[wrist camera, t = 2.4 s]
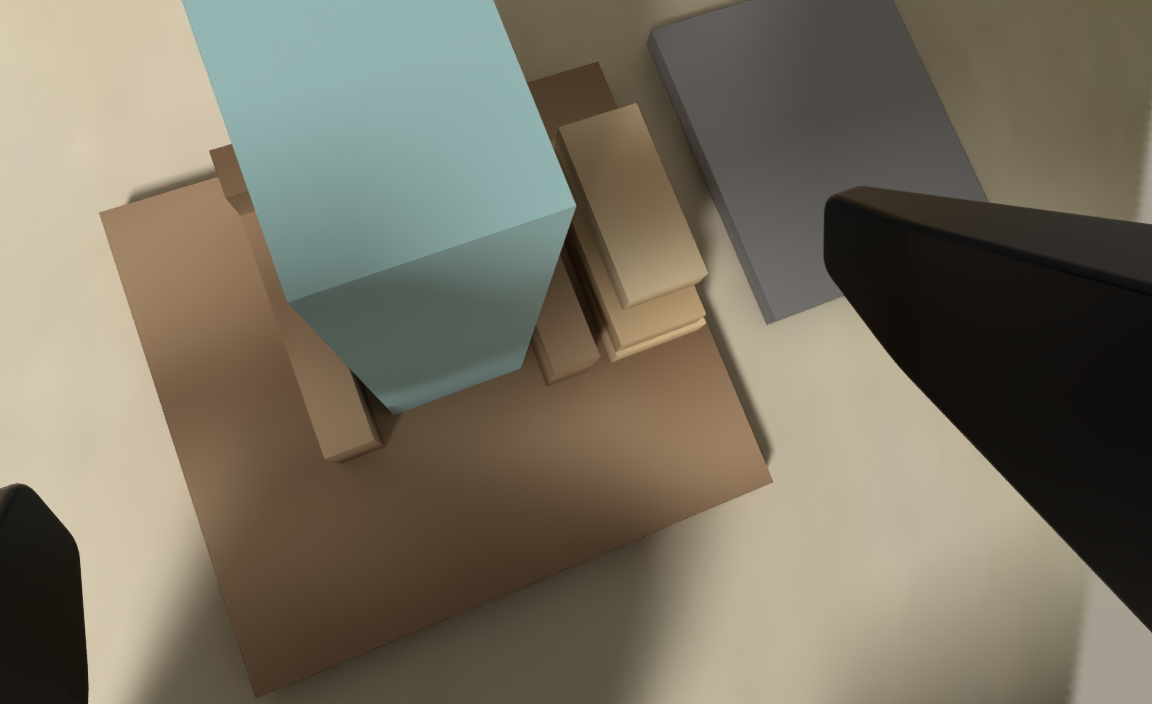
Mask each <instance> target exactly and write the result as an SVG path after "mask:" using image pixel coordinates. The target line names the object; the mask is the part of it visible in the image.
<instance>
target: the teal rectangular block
mask: <svg viewBox="0 0 1152 704" xmlns="http://www.w3.org/2000/svg"><path fill="white" fill-rule="evenodd" d="M182 2H183V5H184V8H185V11H186V14H187V17H188V20H189V23H190V25H191V28H192V31H193V34H194V37H195V40H196V43H197V45H198V48H199V51H200V54H201V57H202V60H203V63H204V65H205V68H206V71H207V74H208V77H209V80H210V83H211V86H212V88H213V91H214V94H215V97H216V100H217V103H218V106H219V108H220V111H221V114H222V117H223V120H224V123H225V126H226V128H227V131H228V134H229V137H230V140H231V143H232V146H233V148H234V151H235V154H236V157H237V160H238V163H239V166H240V169H241V171H242V174H243V177H244V180H245V183H246V186H247V189H248V191H249V194H250V197H251V200H252V203H253V206H254V209H255V211H256V214H257V217H258V220H259V223H260V226H261V229H262V232H263V234H264V237H265V240H266V243H267V246H268V249H269V252H270V254H271V257H272V260H273V263H274V266H275V269H276V272H277V274H278V277H279V280H280V283H281V286H282V289H283V292H284V294H285V297H286V300H287V303H288V304H289V305H290V306H291V307H292V308H293V309H294V310H295V311H296V312H297V313H298V314H299V315H300V316H301V317H302V319H303V320H304V321H305V322H306V323H307V324H308V325H309V326H310V327H311V328H312V329H313V330H314V331H315V332H316V333H317V334H318V335H319V336H320V338H321V339H322V340H323V341H324V342H325V343H326V344H327V345H328V346H329V347H330V348H331V349H332V350H333V351H334V352H335V353H336V354H337V356H338V357H339V358H340V359H341V360H342V361H343V362H344V363H345V364H346V365H347V366H348V367H349V368H350V369H351V370H352V371H353V372H354V373H355V375H356V376H357V377H358V378H359V379H360V380H361V381H362V382H363V383H364V384H365V385H366V386H367V387H368V388H369V389H370V390H371V391H372V393H373V394H374V395H375V396H376V397H377V398H378V399H379V400H380V401H381V402H382V403H383V404H384V405H385V406H386V407H387V408H388V409H389V410H390V412H391V413H392V414H393V415H395V414H398V413H401V412H403V411H406V410H409V409H412V408H414V407H417V406H420V405H422V404H425V403H428V402H431V401H433V400H436V399H439V398H442V397H444V396H447V395H450V394H452V393H455V392H458V391H461V390H463V389H466V388H469V387H471V386H474V385H477V384H480V383H482V382H485V381H488V380H491V379H493V378H496V377H499V376H501V375H504V374H507V373H510V372H512V371H515V370H518V369H520V368H521V367H522V364H523V361H524V358H525V355H526V352H527V349H528V346H529V343H530V340H531V337H532V334H533V331H534V328H535V325H536V323H537V320H538V317H539V314H540V311H541V308H542V305H543V302H544V299H545V296H546V293H547V290H548V287H549V284H550V281H551V278H552V276H553V273H554V270H555V267H556V264H557V261H558V258H559V255H560V252H561V249H562V246H563V243H564V240H565V237H566V234H567V231H568V229H569V226H570V223H571V220H572V217H573V214H574V211H575V208H576V204H575V201H574V199H573V196H572V194H571V191H570V189H569V186H568V184H567V182H566V179H565V177H564V174H563V172H562V169H561V167H560V164H559V162H558V159H557V157H556V154H555V152H554V149H553V147H552V144H551V142H550V139H549V137H548V134H547V132H546V129H545V127H544V124H543V122H542V120H541V117H540V115H539V112H538V110H537V107H536V105H535V102H534V100H533V97H532V95H531V92H530V90H529V87H528V85H527V82H526V80H525V77H524V75H523V72H522V70H521V67H520V65H519V63H518V60H517V58H516V55H515V53H514V50H513V48H512V45H511V43H510V40H509V38H508V35H507V33H506V30H505V28H504V25H503V23H502V20H501V18H500V15H499V13H498V10H497V8H496V5H495V3H494V1H493V0H182Z"/></svg>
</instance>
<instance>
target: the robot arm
mask: <svg viewBox="0 0 1152 704" xmlns="http://www.w3.org/2000/svg"><path fill="white" fill-rule="evenodd" d="M823 258H824V264H825V267H826V270H827V272H828V274H829V276H830V277H831V279H832V280H833V282H834V283H835V284H836V285H837V287H838V288H839V289H840V291H841V292H842V293H843V295H844V296H845V297H846V299H847V300H848V301H849V303H850V304H851V305H852V307H853V308H854V309H855V311H856V312H857V313H858V315H859V316H860V317H861V319H862V320H863V321H864V323H865V324H866V325H867V326H868V328H869V329H870V330H871V332H872V333H873V334H874V336H875V337H876V338H877V340H878V341H879V342H880V344H881V345H882V346H883V348H884V349H885V350H886V352H887V353H888V354H889V355H890V356H891V358H892V359H893V360H894V361H895V363H896V364H897V365H898V366H899V367H900V368H901V369H902V371H903V372H904V373H905V374H906V375H907V376H908V377H909V378H910V379H911V381H912V382H913V383H914V384H915V385H916V386H917V387H918V388H919V389H920V390H921V391H922V392H923V393H924V394H925V395H926V396H927V397H928V398H929V399H930V400H931V402H932V403H933V404H934V405H935V406H936V407H937V408H938V409H939V410H940V411H941V412H942V413H943V414H944V415H945V416H946V417H947V418H948V419H949V420H950V421H951V423H952V424H953V425H954V426H955V427H956V428H957V429H958V430H959V431H960V432H961V433H962V434H963V435H964V436H965V437H966V438H967V439H968V440H969V441H970V442H971V444H972V445H973V446H974V447H975V448H976V449H977V450H978V451H979V452H980V453H981V454H982V455H983V456H984V457H985V458H986V459H987V460H988V461H989V462H990V463H991V464H992V466H993V467H994V468H995V469H996V470H997V471H998V472H999V473H1000V474H1001V475H1002V476H1003V477H1004V478H1005V479H1006V480H1007V481H1008V482H1009V483H1010V484H1011V485H1012V487H1013V488H1014V489H1015V490H1016V491H1017V492H1018V493H1019V494H1020V495H1021V496H1022V497H1023V498H1024V499H1025V500H1026V501H1027V502H1028V503H1029V504H1030V505H1031V506H1032V508H1033V509H1034V510H1035V511H1036V512H1037V513H1038V514H1039V515H1040V516H1041V517H1042V518H1043V519H1044V520H1045V521H1046V522H1047V523H1048V524H1049V525H1050V526H1051V527H1052V529H1053V530H1054V531H1055V532H1056V533H1057V534H1058V535H1059V536H1060V537H1061V538H1062V539H1063V540H1064V541H1065V542H1066V543H1067V544H1068V545H1069V546H1070V547H1071V548H1072V550H1073V551H1074V552H1075V553H1076V554H1077V555H1078V556H1079V557H1080V558H1081V559H1082V560H1083V561H1084V562H1085V563H1086V564H1087V565H1088V566H1089V567H1090V568H1091V569H1092V571H1093V572H1094V573H1095V574H1096V575H1097V576H1098V577H1099V578H1100V579H1101V580H1102V581H1103V582H1104V583H1105V584H1106V585H1107V586H1108V587H1109V588H1110V589H1111V590H1112V591H1113V593H1114V594H1115V595H1116V596H1117V597H1118V598H1119V599H1120V600H1121V601H1122V602H1123V603H1124V604H1125V605H1126V606H1127V607H1128V608H1129V609H1130V610H1131V611H1132V612H1133V614H1134V615H1135V616H1136V617H1137V618H1138V619H1139V620H1140V621H1141V622H1142V623H1143V624H1144V625H1145V626H1146V627H1147V628H1148V629H1149V630H1150V631H1151V632H1152V224H1145V223H1137V222H1130V221H1122V220H1115V219H1107V218H1100V217H1093V216H1085V215H1078V214H1070V213H1063V212H1055V211H1048V210H1040V209H1033V208H1025V207H1018V206H1011V205H1003V204H996V203H988V202H981V201H973V200H966V199H958V198H951V197H943V196H936V195H929V194H921V193H914V192H906V191H899V190H891V189H884V188H876V187H869V186H856V187H853V188H850V189H847V190H845V191H842V192H839V193H836V194H834V195H831V196H830V197H829V198H828V199H827V201H826V203H825V206H824V235H823ZM88 691H89V687H88V663H87V649H86V635H85V622H84V608H83V594H82V580H81V567H80V556H79V551H78V547H77V544H76V542H75V540H74V538H73V536H72V535H71V533H70V532H69V531H68V530H67V528H66V527H65V526H64V525H63V524H62V523H61V521H60V520H59V519H58V518H57V517H56V516H55V514H54V513H53V512H52V511H51V510H50V508H49V507H48V506H47V505H46V504H45V503H44V501H43V500H42V499H41V498H40V497H39V496H38V494H37V493H36V492H35V491H34V490H33V489H32V488H30V487H29V486H27V485H25V484H19V483H16V484H12V485H9V486H6V487H3V488H0V704H88Z"/></svg>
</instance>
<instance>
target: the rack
mask: <svg viewBox="0 0 1152 704" xmlns="http://www.w3.org/2000/svg"><path fill="white" fill-rule="evenodd" d="M527 85H528V87H529V90H530V92H531V95H532V97H533V100H534V102H535V105H536V107H537V110H538V112H539V115H540V117H541V120H542V122H543V124H544V127H545V129H546V132H547V134H548V137H549V139H550V142H551V144H552V147H553V149H554V152H555V154H556V157H557V159H558V162H559V164H560V167H561V169H562V172H563V174H564V177H565V179H566V182H567V184H568V186H569V189H570V191H571V194H572V196H573V199H574V201H575V204H576V208H575V211H574V214H573V217H572V220H571V223H570V226H569V229H568V231H567V234H566V237H565V240H564V243H563V246H562V249H561V252H560V255H559V258H558V261H557V264H556V267H555V270H554V273H553V276H552V278H551V281H550V284H549V287H548V290H547V293H546V296H545V299H544V302H543V305H542V308H541V311H540V314H539V317H538V320H537V323H536V325H535V328H534V331H533V334H532V337H531V340H530V343H529V346H528V349H527V352H526V355H525V358H524V361H523V364H522V367H521V368H520V369H518V370H515V371H512V372H510V373H507V374H504V375H501V376H499V377H496V378H493V379H491V380H488V381H485V382H482V383H480V384H477V385H474V386H471V387H469V388H466V389H463V390H461V391H458V392H455V393H452V394H450V395H447V396H444V397H442V398H439V399H436V400H433V401H431V402H428V403H425V404H422V405H420V406H417V407H414V408H412V409H409V410H406V411H403V412H401V413H398V414H395V415H393V414H392V413H391V412H390V410H389V409H388V408H387V407H386V406H385V405H384V404H383V403H382V402H381V401H380V400H379V399H378V398H377V397H376V396H375V395H374V394H373V393H372V391H371V390H370V389H369V388H368V387H367V386H366V385H365V384H364V383H363V382H362V381H361V380H360V379H359V378H358V377H357V376H356V375H355V373H354V372H353V371H352V370H351V369H350V368H349V367H348V366H347V365H346V364H345V363H344V362H343V361H342V360H341V359H340V358H339V357H338V356H337V354H336V353H335V352H334V351H333V350H332V349H331V348H330V347H329V346H328V345H327V344H326V343H325V342H324V341H323V340H322V339H321V338H320V336H319V335H318V334H317V333H316V332H315V331H314V330H313V329H312V328H311V327H310V326H309V325H308V324H307V323H306V322H305V321H304V320H303V319H302V317H301V316H300V315H299V314H298V313H297V312H296V311H295V310H294V309H293V308H292V307H291V306H290V305H289V304H288V303H287V300H286V297H285V294H284V292H283V289H282V286H281V283H280V280H279V277H278V274H277V272H276V269H275V266H274V263H273V260H272V257H271V254H270V252H269V249H268V246H267V243H266V240H265V237H264V234H263V232H262V229H261V226H260V223H259V220H258V217H257V214H256V211H255V209H254V206H253V203H252V200H251V197H250V194H249V191H248V189H247V186H246V183H245V180H244V177H243V174H242V171H241V169H240V166H239V163H238V160H237V157H236V154H235V151H234V148H233V146H232V144H230V145H227V146H223V147H220V148H217V149H213V150H210V151H209V152H210V155H211V158H212V161H213V164H214V166H215V169H216V172H217V175H218V177H215V178H212V179H209V180H206V181H202V182H199V183H196V184H192V185H189V186H186V187H182V188H179V189H176V190H172V191H169V192H166V193H163V194H159V195H156V196H153V197H149V198H146V199H143V200H139V201H136V202H133V203H130V204H126V205H123V206H120V207H116V208H113V209H110V210H106V211H103V212H100V213H99V214H100V217H101V220H102V223H103V227H104V230H105V233H106V236H107V239H108V242H109V245H110V248H111V251H112V254H113V257H114V261H115V264H116V267H117V270H118V273H119V276H120V279H121V282H122V285H123V288H124V292H125V295H126V298H127V301H128V304H129V307H130V310H131V313H132V316H133V319H134V322H135V326H136V329H137V332H138V335H139V338H140V341H141V344H142V347H143V350H144V353H145V357H146V360H147V363H148V366H149V369H150V372H151V375H152V378H153V381H154V384H155V387H156V391H157V394H158V397H159V400H160V403H161V406H162V409H163V412H164V415H165V418H166V422H167V425H168V428H169V431H170V434H171V437H172V440H173V443H174V446H175V449H176V452H177V456H178V459H179V462H180V465H181V468H182V471H183V474H184V477H185V480H186V483H187V487H188V490H189V493H190V496H191V499H192V502H193V505H194V508H195V511H196V514H197V517H198V521H199V524H200V527H201V530H202V533H203V536H204V539H205V542H206V545H207V548H208V552H209V555H210V558H211V561H212V564H213V567H214V570H215V573H216V576H217V579H218V582H219V586H220V589H221V592H222V595H223V598H224V601H225V604H226V607H227V610H228V613H229V617H230V620H231V623H232V626H233V629H234V632H235V635H236V638H237V641H238V644H239V647H240V651H241V654H242V657H243V660H244V663H245V666H246V669H247V672H248V675H249V678H250V681H251V685H252V688H253V691H254V694H255V697H256V698H257V697H260V696H262V695H265V694H267V693H269V692H272V691H274V690H277V689H279V688H281V687H284V686H286V685H289V684H291V683H293V682H296V681H298V680H301V679H303V678H305V677H308V676H310V675H313V674H315V673H317V672H320V671H322V670H324V669H327V668H329V667H332V666H334V665H336V664H339V663H341V662H344V661H346V660H348V659H351V658H353V657H356V656H358V655H360V654H363V653H365V652H368V651H370V650H372V649H375V648H377V647H380V646H382V645H384V644H387V643H389V642H392V641H394V640H396V639H399V638H401V637H404V636H406V635H408V634H411V633H413V632H416V631H418V630H420V629H423V628H425V627H428V626H430V625H432V624H435V623H437V622H440V621H442V620H444V619H447V618H449V617H451V616H454V615H456V614H459V613H461V612H463V611H466V610H468V609H471V608H473V607H475V606H478V605H480V604H483V603H485V602H487V601H490V600H492V599H495V598H497V597H499V596H502V595H504V594H507V593H509V592H511V591H514V590H516V589H519V588H521V587H523V586H526V585H528V584H531V583H533V582H535V581H538V580H540V579H543V578H545V577H547V576H550V575H552V574H555V573H557V572H559V571H562V570H564V569H567V568H569V567H571V566H574V565H576V564H579V563H581V562H583V561H586V560H588V559H590V558H593V557H595V556H598V555H600V554H602V553H605V552H607V551H610V550H612V549H614V548H617V547H619V546H622V545H624V544H626V543H629V542H631V541H634V540H636V539H638V538H641V537H643V536H646V535H648V534H650V533H653V532H655V531H658V530H660V529H662V528H665V527H667V526H670V525H672V524H674V523H677V522H679V521H682V520H684V519H686V518H689V517H691V516H694V515H696V514H698V513H701V512H703V511H706V510H708V509H710V508H713V507H715V506H717V505H720V504H722V503H725V502H727V501H729V500H732V499H734V498H737V497H739V496H741V495H744V494H746V493H749V492H751V491H753V490H756V489H758V488H761V487H763V486H765V485H768V484H770V483H773V480H772V478H771V475H770V473H769V471H768V468H767V466H766V463H765V461H764V459H763V456H762V454H761V451H760V449H759V447H758V444H757V442H756V439H755V437H754V435H753V432H752V430H751V427H750V425H749V423H748V420H747V418H746V415H745V413H744V411H743V408H742V406H741V403H740V401H739V399H738V396H737V394H736V391H735V389H734V387H733V384H732V382H731V379H730V377H729V375H728V372H727V370H726V367H725V365H724V363H723V360H722V358H721V355H720V353H719V351H718V348H717V346H716V343H715V341H714V339H713V336H712V334H711V331H710V329H709V327H708V324H707V322H706V320H705V317H704V316H705V315H706V312H705V310H704V308H703V305H702V303H701V300H700V298H699V296H698V293H697V291H696V288H695V286H694V285H695V284H698V283H699V282H700V281H701V280H702V279H703V278H704V277H705V276H706V275H707V274H708V271H707V269H706V267H705V264H704V262H703V259H702V257H701V255H700V252H699V250H698V248H697V245H696V243H695V240H694V238H693V236H692V233H691V231H690V228H689V226H688V224H687V221H686V219H685V217H684V214H683V212H682V209H681V207H680V205H679V202H678V200H677V198H676V195H675V193H674V190H673V188H672V186H671V183H670V181H669V179H668V176H667V174H666V171H665V169H664V167H663V164H662V162H661V160H660V157H659V155H658V152H657V150H656V148H655V145H654V143H653V141H652V138H651V136H650V133H649V131H648V129H647V126H646V124H645V121H644V119H643V117H642V114H641V112H640V110H639V107H638V105H637V103H634V104H631V105H628V106H625V107H622V108H617V106H616V104H615V101H614V99H613V96H612V94H611V92H610V89H609V87H608V84H607V82H606V80H605V77H604V75H603V72H602V70H601V68H600V65H599V63H598V62H595V63H592V64H589V65H585V66H582V67H579V68H575V69H572V70H569V71H566V72H562V73H559V74H556V75H552V76H549V77H546V78H542V79H539V80H536V81H533V82H529V83H527Z"/></svg>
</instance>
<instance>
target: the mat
mask: <svg viewBox="0 0 1152 704" xmlns="http://www.w3.org/2000/svg"><path fill="white" fill-rule="evenodd" d="M647 45H648V48H649V50H650V52H651V55H652V57H653V59H654V62H655V64H656V66H657V69H658V71H659V73H660V76H661V78H662V80H663V83H664V85H665V87H666V90H667V92H668V94H669V97H670V99H671V101H672V104H673V106H674V108H675V111H676V113H677V115H678V118H679V120H680V123H681V125H682V127H683V130H684V132H685V134H686V137H687V139H688V141H689V144H690V146H691V148H692V151H693V153H694V155H695V158H696V160H697V162H698V165H699V167H700V169H701V172H702V174H703V176H704V179H705V181H706V183H707V186H708V188H709V190H710V193H711V195H712V198H713V200H714V202H715V205H716V207H717V209H718V212H719V214H720V216H721V219H722V221H723V223H724V226H725V228H726V230H727V233H728V235H729V237H730V240H731V242H732V244H733V247H734V249H735V251H736V254H737V256H738V258H739V261H740V263H741V265H742V268H743V270H744V273H745V275H746V277H747V280H748V282H749V284H750V287H751V289H752V291H753V294H754V296H755V298H756V301H757V303H758V305H759V308H760V310H761V312H762V315H763V317H764V319H765V322H766V324H767V325H768V324H771V323H773V322H776V321H779V320H781V319H784V318H787V317H789V316H792V315H794V314H797V313H800V312H802V311H805V310H808V309H810V308H813V307H816V306H818V305H821V304H824V303H826V302H829V301H831V300H834V299H837V298H839V297H842V296H844V295H843V293H842V292H841V291H840V289H839V288H838V287H837V285H836V284H835V283H834V282H833V280H832V279H831V277H830V276H829V274H828V272H827V270H826V267H825V264H824V258H823V235H824V206H825V203H826V201H827V199H828V198H829V197H830V196H831V195H834V194H836V193H839V192H842V191H845V190H847V189H850V188H853V187H856V186H869V187H876V188H884V189H891V190H899V191H906V192H914V193H921V194H929V195H936V196H943V197H951V198H958V199H966V200H973V201H981V202H988V200H987V198H986V196H985V194H984V192H983V190H982V188H981V186H980V183H979V181H978V179H977V177H976V175H975V173H974V171H973V169H972V167H971V164H970V162H969V160H968V158H967V156H966V154H965V152H964V150H963V147H962V145H961V143H960V141H959V139H958V137H957V135H956V133H955V131H954V128H953V126H952V124H951V122H950V120H949V118H948V116H947V114H946V111H945V109H944V107H943V105H942V103H941V101H940V99H939V97H938V95H937V92H936V90H935V88H934V86H933V84H932V82H931V80H930V78H929V75H928V73H927V71H926V69H925V67H924V65H923V63H922V61H921V59H920V56H919V54H918V52H917V50H916V48H915V46H914V44H913V42H912V40H911V37H910V35H909V33H908V31H907V29H906V27H905V25H904V23H903V20H902V18H901V16H900V14H899V12H898V10H897V8H896V6H895V4H894V1H893V0H749V1H746V2H743V3H739V4H736V5H732V6H729V7H726V8H722V9H719V10H716V11H712V12H709V13H706V14H702V15H699V16H696V17H692V18H689V19H686V20H682V21H679V22H676V23H672V24H669V25H666V26H662V27H659V28H656V29H652V30H651V32H650V35H649V37H648V40H647ZM988 203H989V202H988Z"/></svg>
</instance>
